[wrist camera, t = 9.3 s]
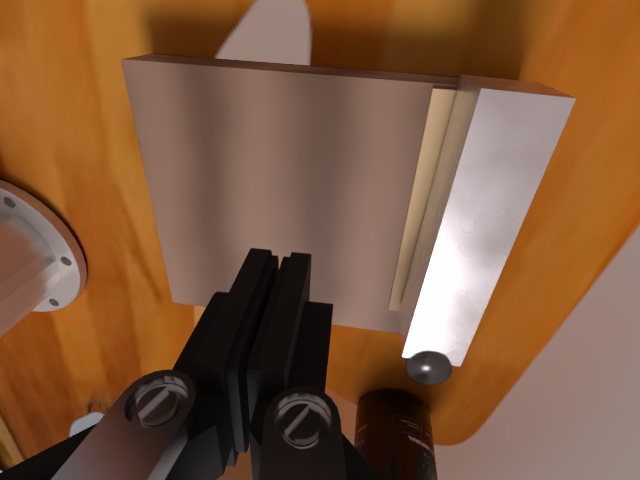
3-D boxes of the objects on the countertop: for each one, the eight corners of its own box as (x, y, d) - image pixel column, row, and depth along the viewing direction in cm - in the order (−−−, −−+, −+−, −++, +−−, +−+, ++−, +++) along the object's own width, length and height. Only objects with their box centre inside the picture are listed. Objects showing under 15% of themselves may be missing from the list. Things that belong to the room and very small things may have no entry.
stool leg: (442, 336, 24) (452, 388, 21) (393, 329, 24) (395, 379, 21) (536, 81, 16) (579, 99, 12) (460, 73, 16) (482, 89, 13)
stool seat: (190, 277, 29) (171, 304, 26) (152, 53, 21) (118, 59, 18) (445, 310, 27) (453, 343, 25) (518, 81, 19) (541, 92, 16)
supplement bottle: (438, 394, 32) (464, 566, 22) (419, 436, 36) (435, 601, 26) (361, 380, 33) (353, 543, 23) (350, 423, 36) (339, 580, 26)
